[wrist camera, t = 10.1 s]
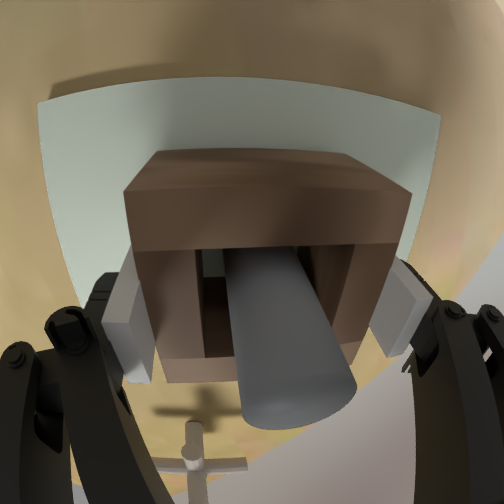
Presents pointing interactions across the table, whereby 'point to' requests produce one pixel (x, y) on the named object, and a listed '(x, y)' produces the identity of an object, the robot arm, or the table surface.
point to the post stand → (232, 259)
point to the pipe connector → (198, 464)
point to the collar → (257, 242)
